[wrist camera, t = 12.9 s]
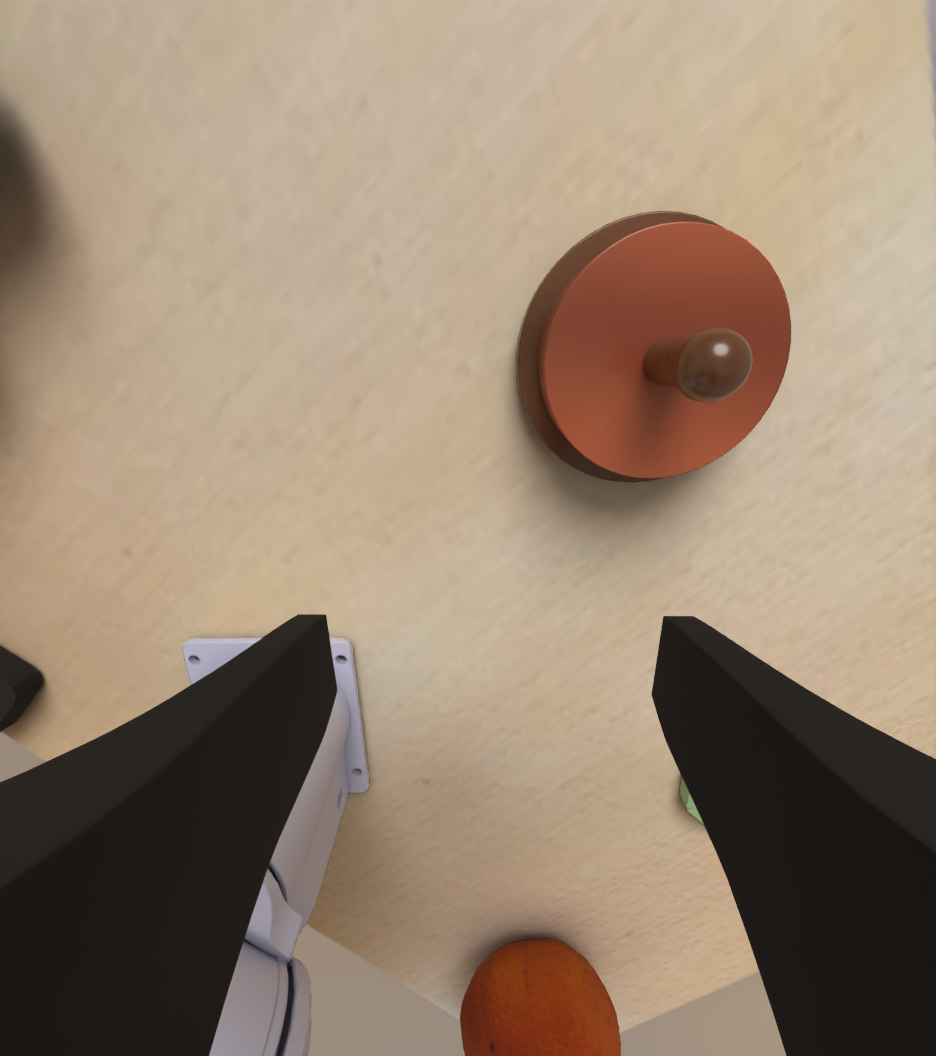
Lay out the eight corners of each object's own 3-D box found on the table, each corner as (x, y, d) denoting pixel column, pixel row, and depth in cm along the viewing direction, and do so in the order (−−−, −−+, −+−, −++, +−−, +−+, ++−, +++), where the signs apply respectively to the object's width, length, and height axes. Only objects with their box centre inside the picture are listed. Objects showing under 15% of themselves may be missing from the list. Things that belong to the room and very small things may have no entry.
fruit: (555, 889, 29) (581, 1082, 21) (625, 966, 31) (670, 1163, 24) (435, 937, 31) (419, 1129, 23) (510, 1006, 33) (518, 1199, 26)
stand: (737, 474, 19) (872, 542, 13) (514, 477, 20) (530, 546, 13) (786, 214, 16) (999, 122, 9) (517, 222, 16) (542, 139, 10)
